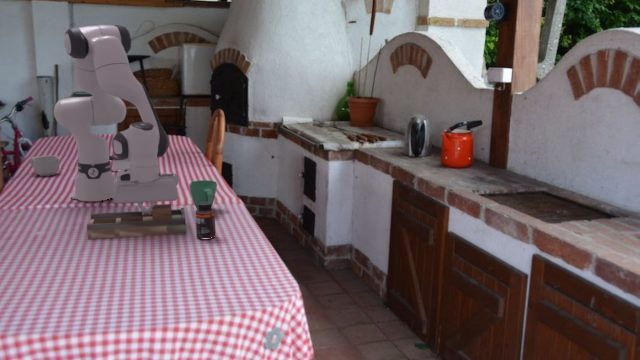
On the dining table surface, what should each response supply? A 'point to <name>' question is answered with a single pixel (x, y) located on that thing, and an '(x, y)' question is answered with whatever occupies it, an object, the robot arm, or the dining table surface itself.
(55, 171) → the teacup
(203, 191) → the mug
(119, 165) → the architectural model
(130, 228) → the wooden compartment tray
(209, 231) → the supplement bottle
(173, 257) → the dining table surface
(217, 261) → the dining table surface
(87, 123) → the robot arm
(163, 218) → the block
